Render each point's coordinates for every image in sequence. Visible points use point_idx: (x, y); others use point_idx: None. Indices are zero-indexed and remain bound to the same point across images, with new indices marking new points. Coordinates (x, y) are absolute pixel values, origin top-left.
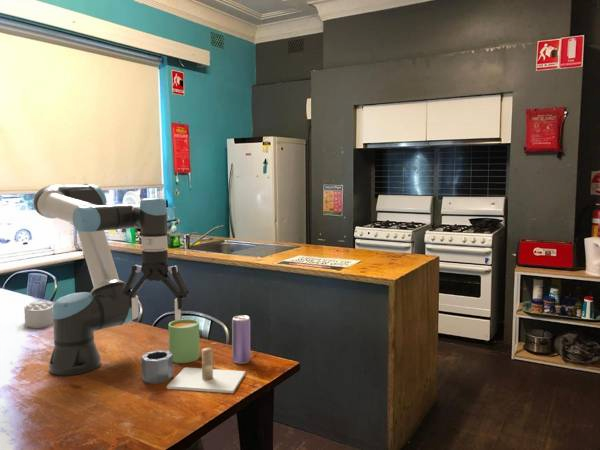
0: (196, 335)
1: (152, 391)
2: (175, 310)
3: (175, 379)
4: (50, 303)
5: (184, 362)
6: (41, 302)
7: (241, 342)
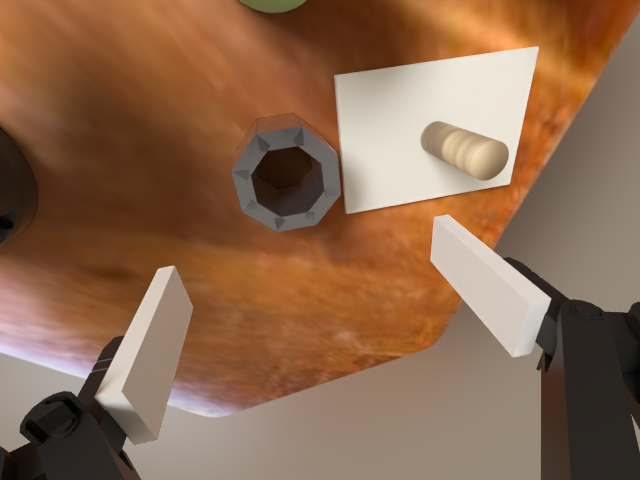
0: None
1: (318, 233)
2: (467, 297)
3: (350, 173)
4: None
5: (301, 4)
6: None
7: None
